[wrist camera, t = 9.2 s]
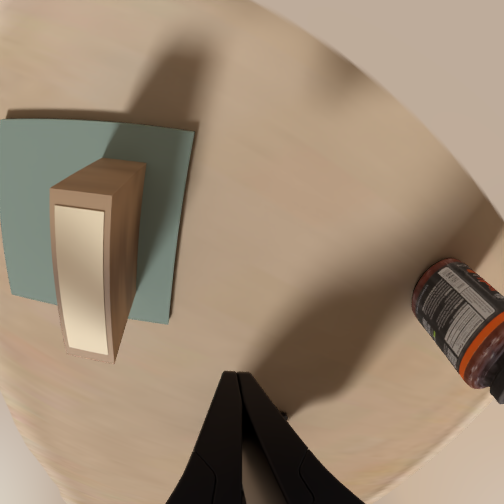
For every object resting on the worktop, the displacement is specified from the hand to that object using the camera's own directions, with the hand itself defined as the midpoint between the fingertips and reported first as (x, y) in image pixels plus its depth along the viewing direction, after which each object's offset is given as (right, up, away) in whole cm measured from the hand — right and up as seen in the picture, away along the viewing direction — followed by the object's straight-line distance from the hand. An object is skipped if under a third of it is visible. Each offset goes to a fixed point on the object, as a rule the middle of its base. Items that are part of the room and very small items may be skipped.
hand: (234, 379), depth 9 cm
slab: (-7, +5, +7) cm, 11 cm away
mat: (-9, +6, +7) cm, 13 cm away
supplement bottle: (+16, +1, +13) cm, 20 cm away
